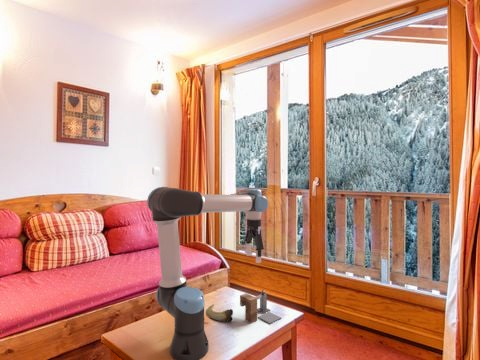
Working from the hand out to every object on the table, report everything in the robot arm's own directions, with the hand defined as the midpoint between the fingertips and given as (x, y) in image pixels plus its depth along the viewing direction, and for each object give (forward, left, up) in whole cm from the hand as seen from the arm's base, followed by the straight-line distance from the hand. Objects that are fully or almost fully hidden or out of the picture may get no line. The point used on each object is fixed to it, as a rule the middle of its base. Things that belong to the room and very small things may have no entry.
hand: (253, 259), depth 156 cm
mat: (-3, -14, -25) cm, 29 cm away
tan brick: (-11, -8, -25) cm, 29 cm away
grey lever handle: (-7, -6, -25) cm, 27 cm away
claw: (-18, +5, -26) cm, 32 cm away
